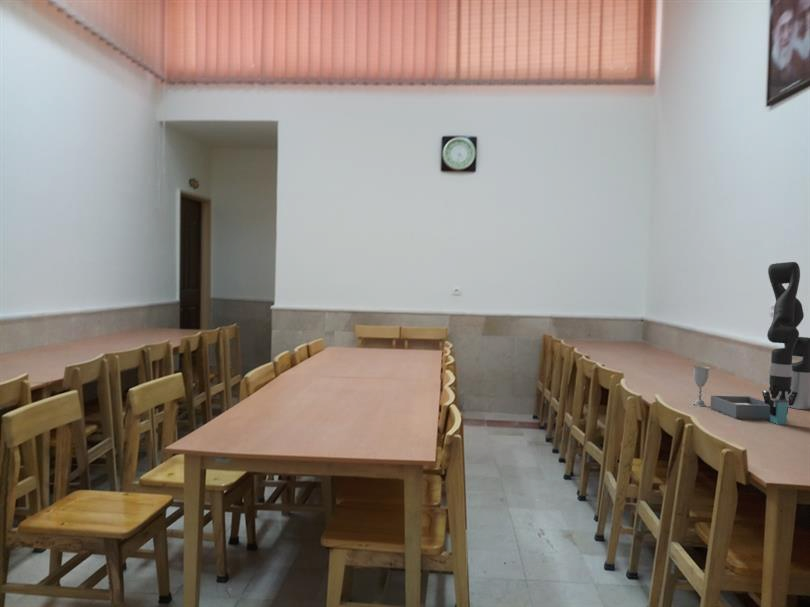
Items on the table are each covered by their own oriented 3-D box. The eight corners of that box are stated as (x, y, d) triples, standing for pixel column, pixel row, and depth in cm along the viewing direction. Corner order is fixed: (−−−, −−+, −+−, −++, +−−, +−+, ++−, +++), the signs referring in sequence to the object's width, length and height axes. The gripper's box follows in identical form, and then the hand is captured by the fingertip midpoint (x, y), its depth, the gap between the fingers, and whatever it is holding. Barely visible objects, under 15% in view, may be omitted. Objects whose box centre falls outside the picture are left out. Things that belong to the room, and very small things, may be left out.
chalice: (687, 403, 256) (689, 366, 255) (697, 402, 259) (699, 365, 258) (700, 407, 249) (702, 368, 249) (711, 406, 252) (713, 368, 251)
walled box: (748, 409, 248) (749, 396, 248) (777, 419, 230) (777, 405, 230) (710, 408, 247) (710, 395, 247) (735, 418, 229) (736, 405, 229)
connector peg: (779, 421, 226) (780, 398, 225) (786, 424, 222) (788, 400, 221) (769, 421, 226) (770, 398, 225) (776, 424, 222) (778, 400, 221)
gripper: (790, 373, 227) (788, 413, 228) (757, 372, 226) (755, 413, 227) (804, 376, 219) (802, 418, 220) (770, 375, 219) (768, 417, 220)
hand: (778, 415), depth 224 cm, fingers closed on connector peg, 4 cm apart
